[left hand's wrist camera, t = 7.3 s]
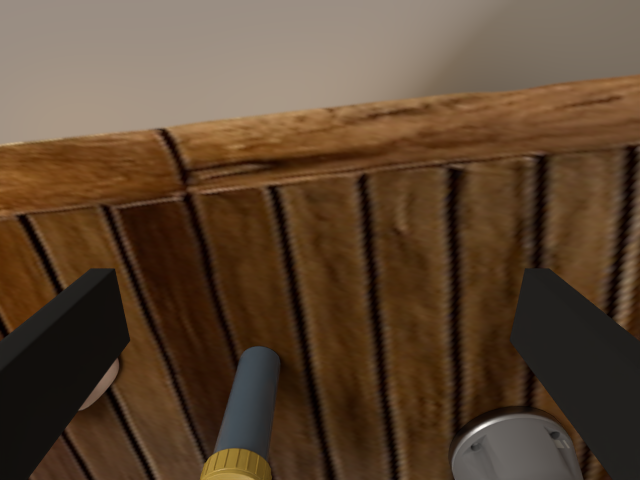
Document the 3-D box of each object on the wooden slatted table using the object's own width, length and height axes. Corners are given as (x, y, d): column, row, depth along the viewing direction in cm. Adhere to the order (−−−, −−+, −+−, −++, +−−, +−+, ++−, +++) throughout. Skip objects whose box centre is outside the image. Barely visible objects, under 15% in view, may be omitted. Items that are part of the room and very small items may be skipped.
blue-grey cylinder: (262, 339, 45) (235, 462, 31) (289, 365, 47) (275, 495, 32) (230, 360, 46) (190, 489, 32) (258, 385, 48) (231, 520, 33)
